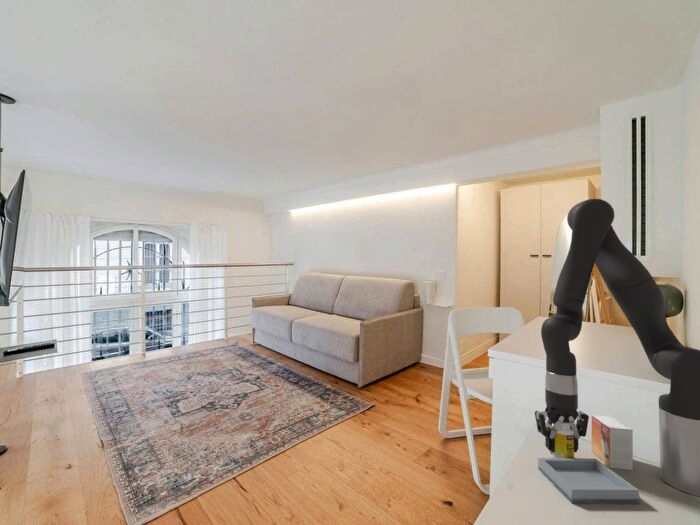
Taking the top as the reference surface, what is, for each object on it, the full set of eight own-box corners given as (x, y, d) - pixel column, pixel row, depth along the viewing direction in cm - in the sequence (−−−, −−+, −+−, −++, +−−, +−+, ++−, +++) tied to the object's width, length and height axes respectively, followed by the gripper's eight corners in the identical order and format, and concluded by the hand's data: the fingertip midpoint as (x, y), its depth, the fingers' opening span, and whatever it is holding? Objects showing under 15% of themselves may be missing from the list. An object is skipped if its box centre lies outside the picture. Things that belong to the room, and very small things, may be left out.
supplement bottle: (568, 466, 83) (568, 426, 84) (546, 456, 88) (545, 418, 88) (578, 460, 86) (577, 421, 87) (555, 450, 91) (555, 414, 91)
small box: (591, 451, 91) (590, 414, 91) (612, 453, 90) (612, 415, 90) (610, 468, 83) (609, 427, 83) (633, 470, 82) (633, 429, 82)
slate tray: (595, 470, 82) (595, 458, 82) (638, 503, 70) (638, 489, 70) (538, 469, 81) (538, 458, 82) (571, 503, 69) (571, 489, 70)
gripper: (576, 384, 92) (577, 443, 91) (527, 383, 91) (528, 443, 91) (597, 394, 84) (598, 459, 83) (544, 393, 84) (544, 458, 83)
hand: (561, 450), depth 87 cm, fingers closed on supplement bottle, 5 cm apart
